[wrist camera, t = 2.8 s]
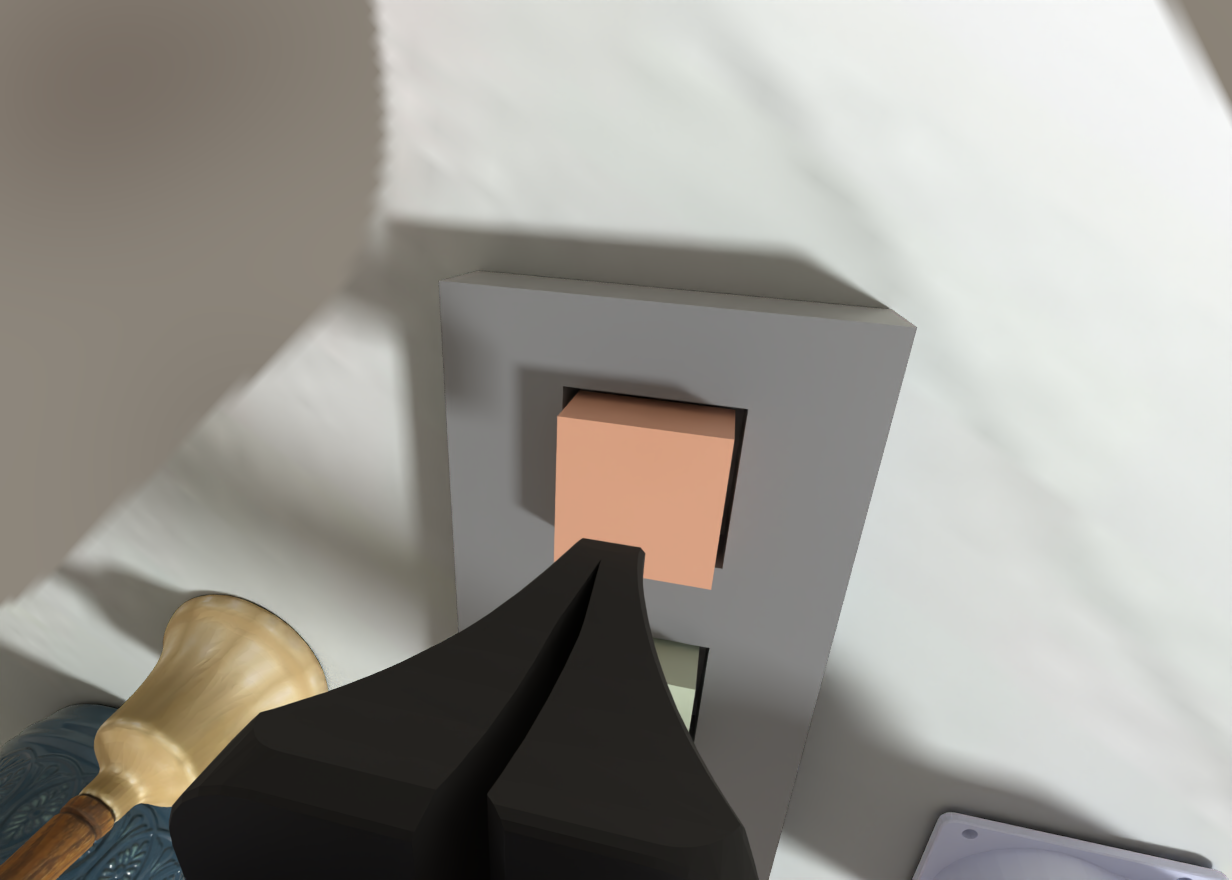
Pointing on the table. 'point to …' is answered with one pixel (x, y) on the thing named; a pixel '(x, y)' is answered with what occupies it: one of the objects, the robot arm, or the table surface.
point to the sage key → (679, 673)
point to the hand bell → (177, 721)
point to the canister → (58, 771)
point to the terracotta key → (644, 480)
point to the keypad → (756, 492)
